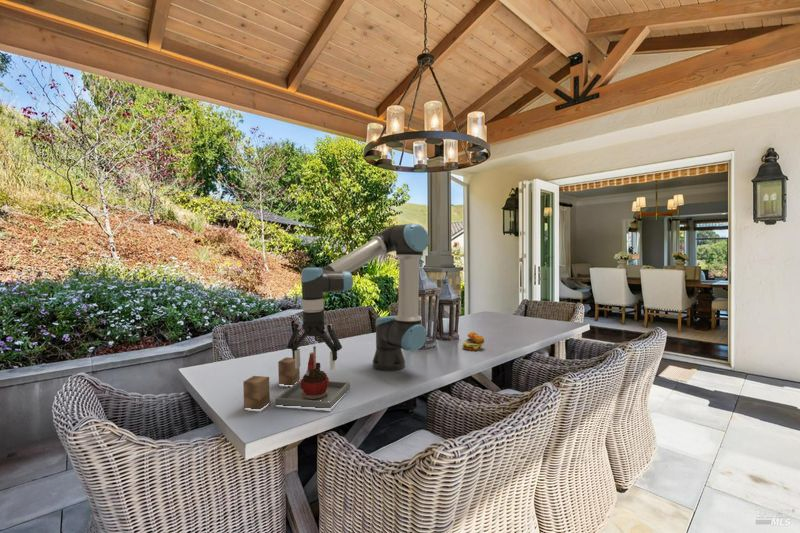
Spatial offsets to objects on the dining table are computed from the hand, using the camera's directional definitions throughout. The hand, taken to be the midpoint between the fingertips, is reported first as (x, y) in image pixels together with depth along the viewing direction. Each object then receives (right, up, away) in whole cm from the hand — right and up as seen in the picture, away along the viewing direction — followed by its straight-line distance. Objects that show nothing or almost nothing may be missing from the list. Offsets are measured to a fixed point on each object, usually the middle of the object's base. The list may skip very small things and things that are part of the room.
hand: (315, 368), depth 139 cm
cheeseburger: (+70, -8, +67) cm, 97 cm away
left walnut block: (-18, -12, -8) cm, 23 cm away
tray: (0, -11, 0) cm, 11 cm away
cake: (0, -10, 0) cm, 10 cm away
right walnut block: (-14, -10, +15) cm, 23 cm away
